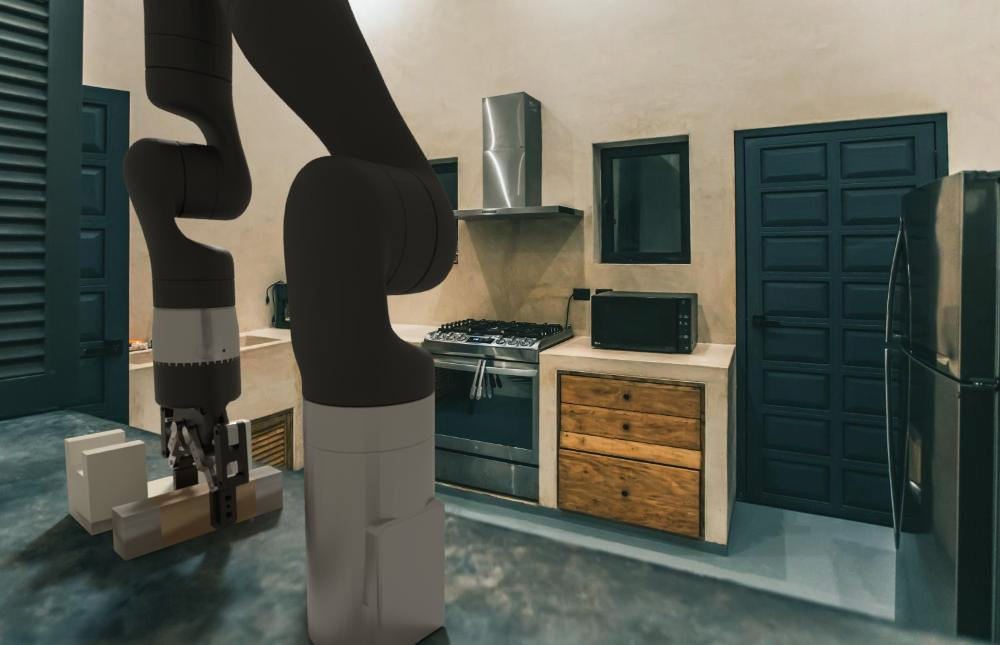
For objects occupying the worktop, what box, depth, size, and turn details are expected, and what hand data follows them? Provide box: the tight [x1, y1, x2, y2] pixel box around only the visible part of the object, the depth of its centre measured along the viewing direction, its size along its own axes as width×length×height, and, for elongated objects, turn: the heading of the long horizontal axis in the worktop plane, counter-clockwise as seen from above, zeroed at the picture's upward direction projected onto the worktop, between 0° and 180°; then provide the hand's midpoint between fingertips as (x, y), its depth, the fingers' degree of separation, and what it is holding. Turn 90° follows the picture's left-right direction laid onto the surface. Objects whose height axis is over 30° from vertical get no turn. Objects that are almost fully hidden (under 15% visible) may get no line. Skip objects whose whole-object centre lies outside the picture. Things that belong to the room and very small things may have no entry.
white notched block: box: [63, 418, 253, 536], centre depth 63 cm, size 8×16×8 cm, turn 140°
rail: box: [112, 464, 284, 562], centre depth 57 cm, size 3×15×4 cm, turn 140°
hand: (204, 513), depth 57 cm, fingers open, 8 cm apart
